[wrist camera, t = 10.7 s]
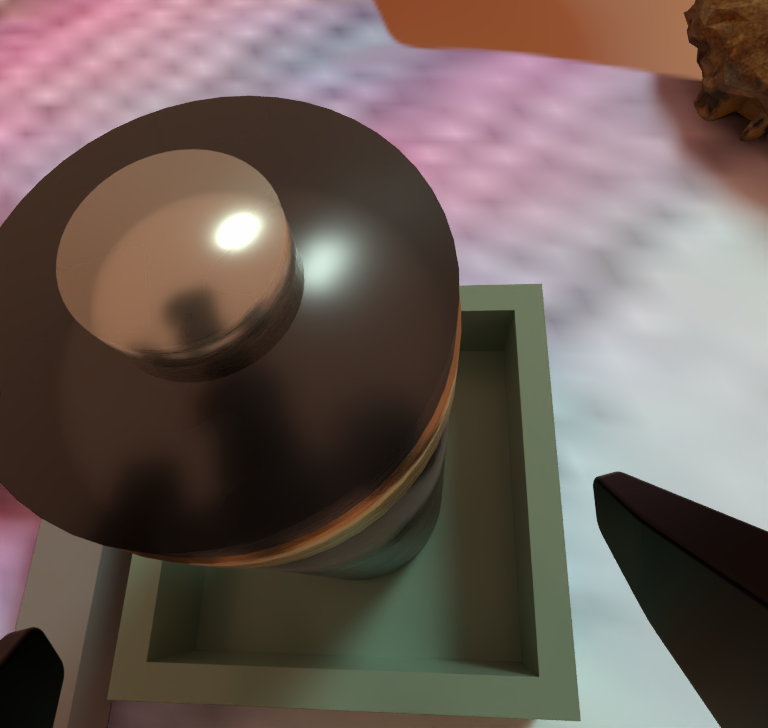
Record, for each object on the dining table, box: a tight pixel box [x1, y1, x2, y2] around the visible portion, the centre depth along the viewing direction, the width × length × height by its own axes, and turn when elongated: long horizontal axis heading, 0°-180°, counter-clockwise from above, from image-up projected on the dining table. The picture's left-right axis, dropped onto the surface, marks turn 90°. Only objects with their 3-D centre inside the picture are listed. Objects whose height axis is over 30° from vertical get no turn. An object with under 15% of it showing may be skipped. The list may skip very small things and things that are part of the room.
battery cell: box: [0, 96, 461, 580], centre depth 11 cm, size 5×5×13 cm
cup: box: [107, 284, 581, 721], centre depth 16 cm, size 11×11×4 cm
